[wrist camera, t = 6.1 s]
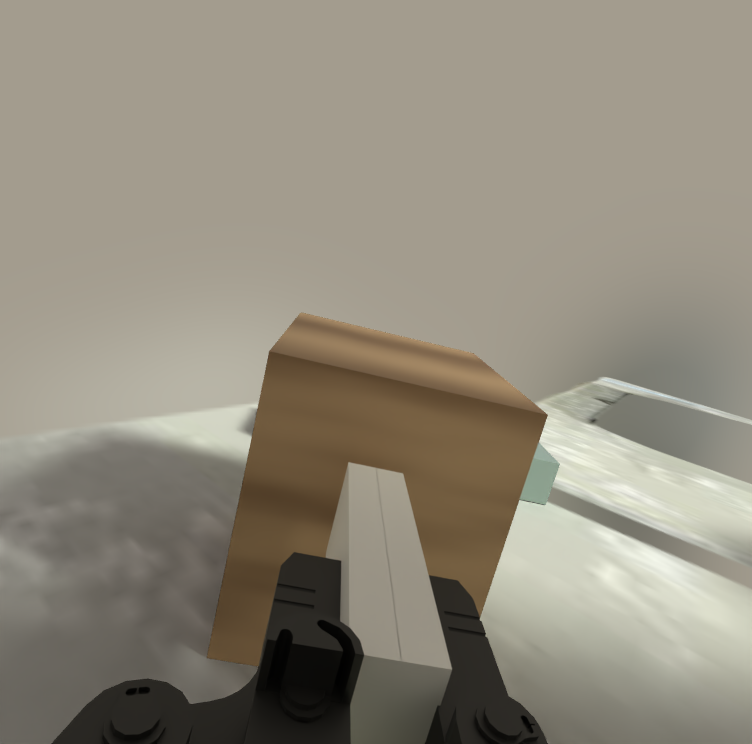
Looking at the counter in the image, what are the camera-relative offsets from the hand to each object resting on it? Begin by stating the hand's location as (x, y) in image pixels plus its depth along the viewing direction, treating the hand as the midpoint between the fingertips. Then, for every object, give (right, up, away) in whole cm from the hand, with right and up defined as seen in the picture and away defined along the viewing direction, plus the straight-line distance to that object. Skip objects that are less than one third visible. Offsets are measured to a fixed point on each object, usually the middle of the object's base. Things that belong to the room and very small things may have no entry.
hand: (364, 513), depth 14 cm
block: (-1, -5, +7) cm, 9 cm away
